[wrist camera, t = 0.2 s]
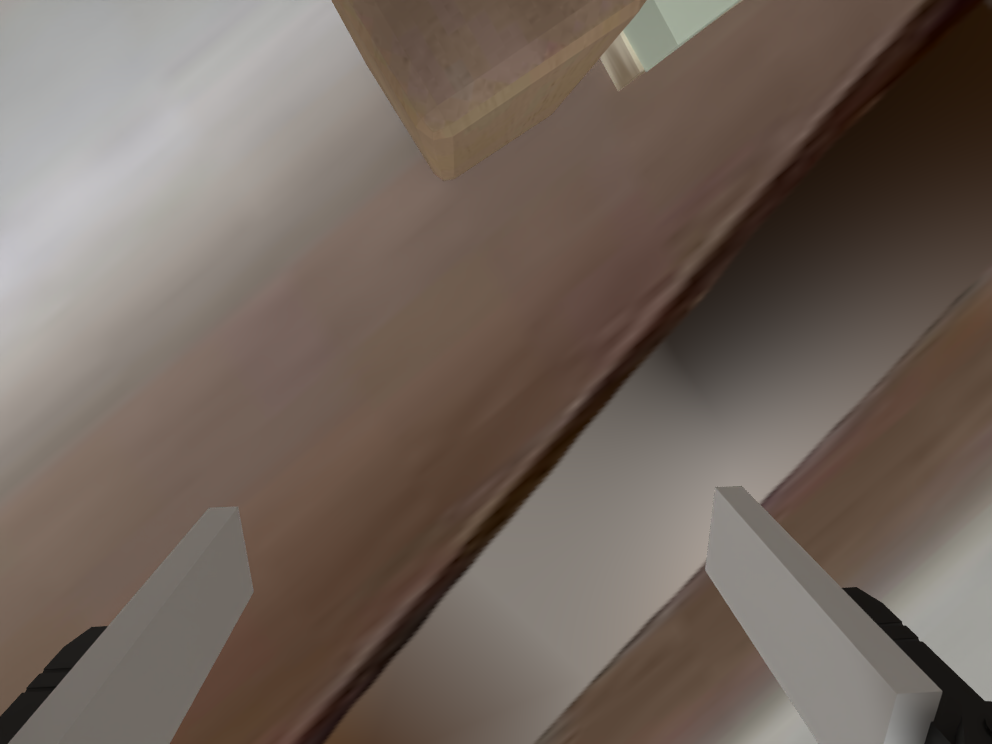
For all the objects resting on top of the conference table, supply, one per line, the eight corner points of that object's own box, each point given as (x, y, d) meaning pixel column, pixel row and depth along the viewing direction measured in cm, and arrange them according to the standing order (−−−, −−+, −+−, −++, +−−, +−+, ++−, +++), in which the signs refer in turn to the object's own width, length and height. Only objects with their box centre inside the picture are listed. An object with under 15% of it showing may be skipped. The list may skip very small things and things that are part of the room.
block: (485, -34, 35) (522, -355, 16) (561, 109, 38) (673, -17, 18) (359, 54, 36) (248, -149, 16) (442, 188, 38) (429, 147, 19)
